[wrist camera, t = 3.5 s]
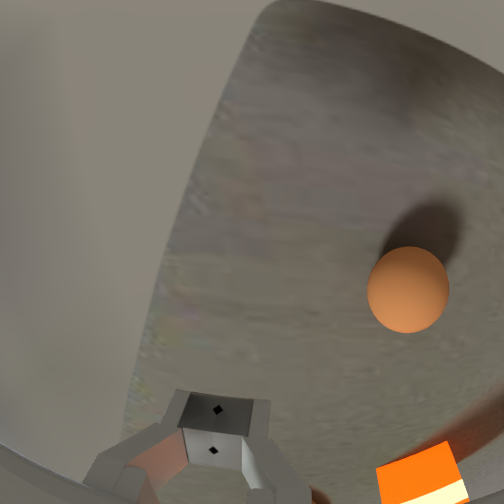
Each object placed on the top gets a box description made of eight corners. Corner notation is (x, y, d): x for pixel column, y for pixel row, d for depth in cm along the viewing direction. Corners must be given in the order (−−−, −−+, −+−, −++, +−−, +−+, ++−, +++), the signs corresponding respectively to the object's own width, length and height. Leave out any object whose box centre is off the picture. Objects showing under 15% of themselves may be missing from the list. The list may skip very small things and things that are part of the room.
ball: (436, 239, 20) (472, 265, 15) (421, 309, 22) (448, 348, 17) (365, 233, 21) (388, 260, 16) (354, 307, 23) (369, 350, 17)
